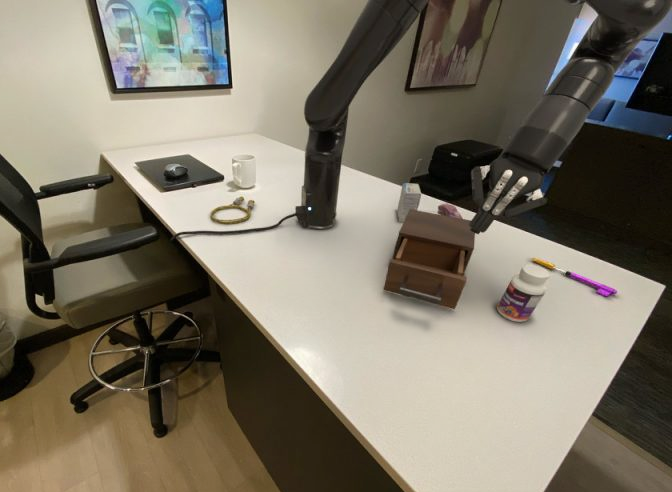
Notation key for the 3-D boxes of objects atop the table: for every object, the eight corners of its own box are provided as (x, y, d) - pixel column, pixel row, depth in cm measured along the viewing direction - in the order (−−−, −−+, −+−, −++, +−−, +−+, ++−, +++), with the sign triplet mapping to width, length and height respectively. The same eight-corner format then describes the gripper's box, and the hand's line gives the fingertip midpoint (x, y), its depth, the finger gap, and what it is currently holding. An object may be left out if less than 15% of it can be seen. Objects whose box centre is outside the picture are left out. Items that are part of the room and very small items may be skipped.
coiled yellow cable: (269, 212, 97) (268, 206, 96) (224, 228, 88) (223, 221, 87) (244, 200, 104) (243, 194, 103) (200, 214, 95) (199, 207, 94)
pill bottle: (489, 306, 63) (510, 264, 58) (511, 301, 65) (534, 260, 59) (512, 325, 59) (537, 282, 53) (535, 319, 61) (562, 276, 55)
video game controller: (437, 222, 96) (433, 202, 92) (453, 216, 95) (449, 195, 91) (454, 239, 88) (450, 217, 84) (471, 231, 87) (467, 210, 83)
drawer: (452, 327, 57) (465, 297, 53) (376, 305, 62) (383, 275, 58) (458, 275, 70) (469, 248, 66) (395, 260, 75) (402, 233, 71)
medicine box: (414, 223, 92) (422, 193, 87) (398, 222, 93) (405, 192, 88) (411, 212, 98) (419, 183, 93) (396, 210, 99) (402, 182, 94)
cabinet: (459, 283, 69) (474, 248, 64) (390, 266, 75) (398, 232, 69) (463, 253, 79) (475, 221, 74) (401, 240, 84) (409, 209, 79)
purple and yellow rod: (616, 293, 67) (533, 259, 77) (619, 289, 66) (534, 255, 77) (609, 300, 66) (526, 265, 77) (612, 296, 65) (528, 261, 76)
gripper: (508, 111, 50) (440, 214, 56) (598, 148, 47) (516, 253, 53) (498, 124, 57) (438, 214, 63) (575, 157, 54) (505, 249, 60)
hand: (474, 232), depth 58 cm, fingers closed
